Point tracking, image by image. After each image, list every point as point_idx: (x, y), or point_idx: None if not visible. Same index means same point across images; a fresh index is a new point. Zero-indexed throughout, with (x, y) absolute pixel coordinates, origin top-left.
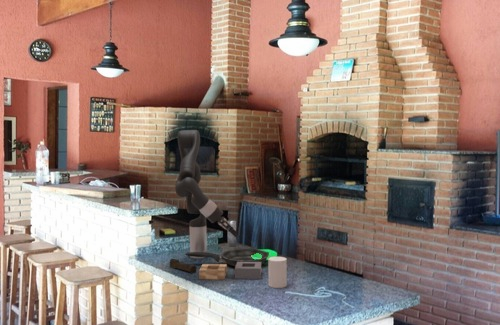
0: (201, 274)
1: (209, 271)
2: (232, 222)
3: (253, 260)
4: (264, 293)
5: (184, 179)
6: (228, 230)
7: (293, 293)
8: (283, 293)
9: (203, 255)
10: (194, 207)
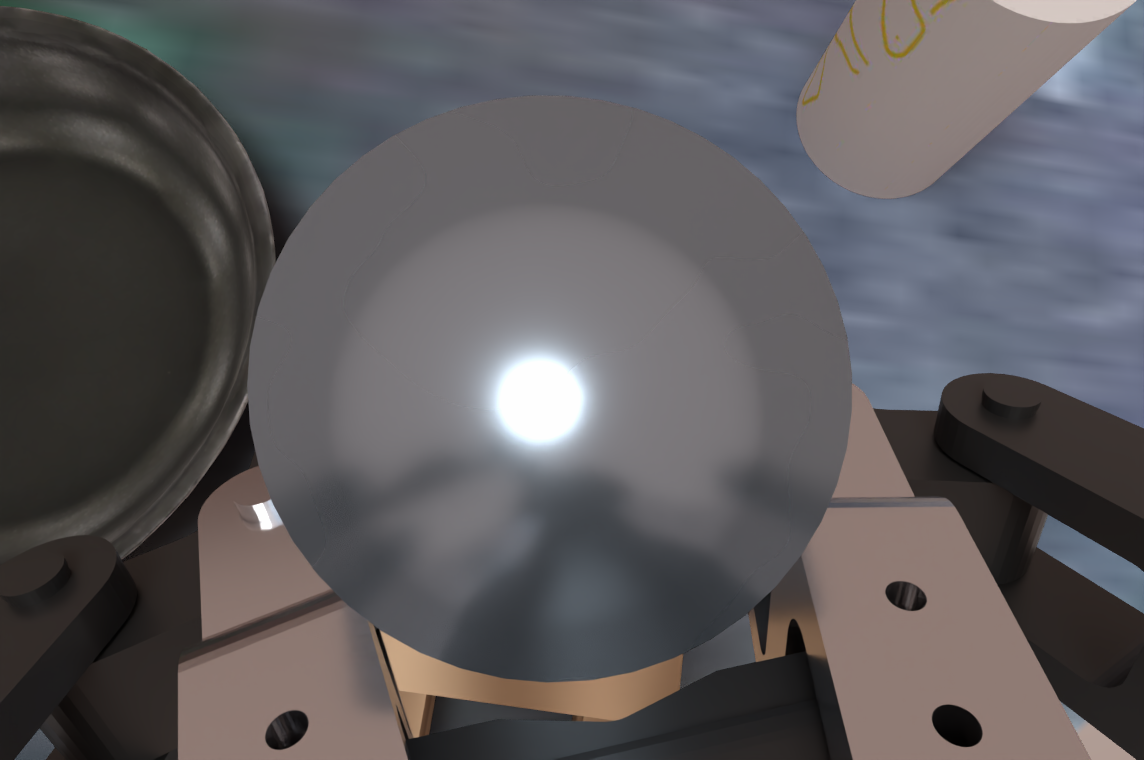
0: None
1: None
2: (834, 330)
3: (269, 224)
4: (1105, 263)
5: None
6: (1079, 604)
7: (1089, 46)
8: (1094, 117)
9: None
10: None
